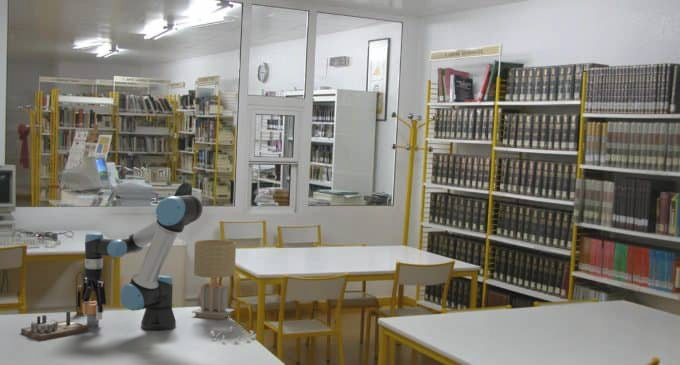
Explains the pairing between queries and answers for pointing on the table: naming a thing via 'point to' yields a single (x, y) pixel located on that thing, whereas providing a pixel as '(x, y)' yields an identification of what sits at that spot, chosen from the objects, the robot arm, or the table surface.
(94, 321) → the smooth gray pebble
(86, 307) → the loose gear
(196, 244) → the desk lamp
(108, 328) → the table surface
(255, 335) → the game piece set
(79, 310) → the multimeter
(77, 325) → the gear board
